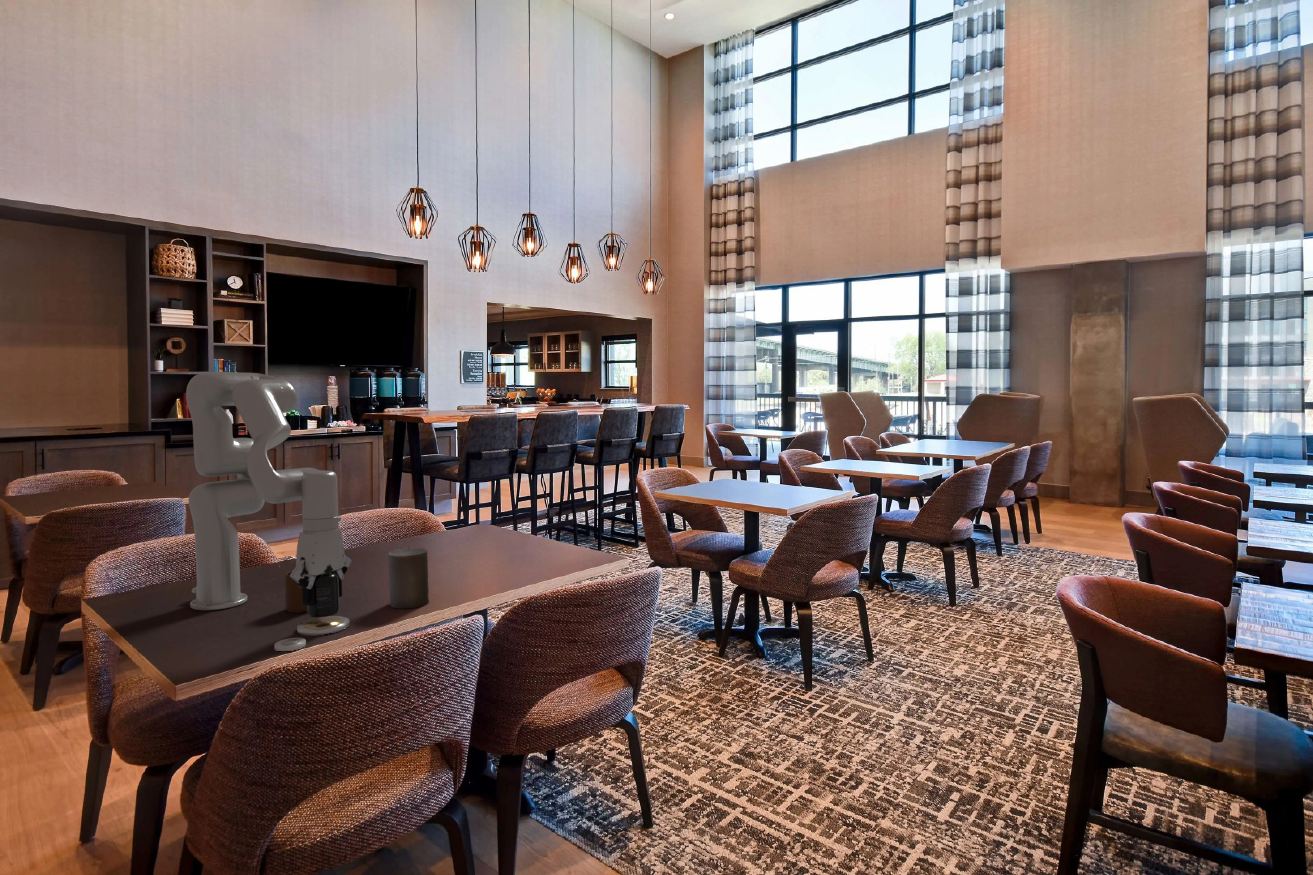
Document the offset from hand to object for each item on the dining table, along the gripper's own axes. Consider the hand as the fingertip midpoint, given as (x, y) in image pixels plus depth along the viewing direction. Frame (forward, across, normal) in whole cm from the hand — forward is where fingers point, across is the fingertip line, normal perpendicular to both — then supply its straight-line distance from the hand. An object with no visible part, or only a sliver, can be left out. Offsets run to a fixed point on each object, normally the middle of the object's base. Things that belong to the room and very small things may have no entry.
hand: (322, 599), depth 165 cm
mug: (+7, -10, -16) cm, 20 cm away
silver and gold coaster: (+7, 0, 0) cm, 7 cm away
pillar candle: (+7, -23, +4) cm, 24 cm away
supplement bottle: (+3, 0, 0) cm, 3 cm away
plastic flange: (+7, +12, +4) cm, 14 cm away
